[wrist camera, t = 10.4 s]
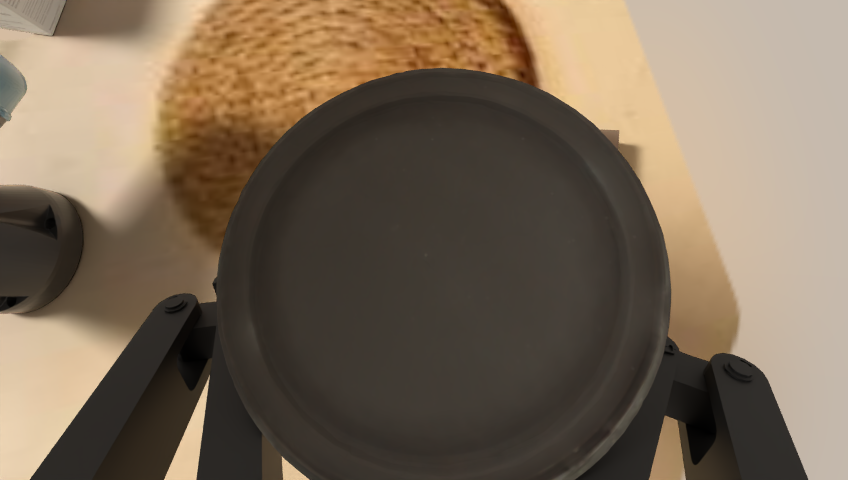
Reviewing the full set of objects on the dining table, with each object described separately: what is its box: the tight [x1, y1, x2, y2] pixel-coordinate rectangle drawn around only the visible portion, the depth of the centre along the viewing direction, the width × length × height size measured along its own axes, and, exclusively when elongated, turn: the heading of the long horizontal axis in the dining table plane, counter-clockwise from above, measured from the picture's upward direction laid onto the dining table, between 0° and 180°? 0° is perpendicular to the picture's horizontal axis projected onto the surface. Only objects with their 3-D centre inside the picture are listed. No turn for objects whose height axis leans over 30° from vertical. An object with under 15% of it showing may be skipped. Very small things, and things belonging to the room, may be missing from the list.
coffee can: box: [216, 68, 671, 480], centre depth 15 cm, size 10×10×14 cm
